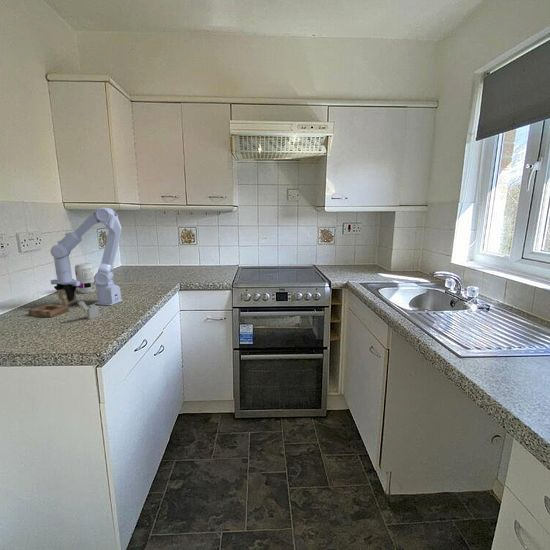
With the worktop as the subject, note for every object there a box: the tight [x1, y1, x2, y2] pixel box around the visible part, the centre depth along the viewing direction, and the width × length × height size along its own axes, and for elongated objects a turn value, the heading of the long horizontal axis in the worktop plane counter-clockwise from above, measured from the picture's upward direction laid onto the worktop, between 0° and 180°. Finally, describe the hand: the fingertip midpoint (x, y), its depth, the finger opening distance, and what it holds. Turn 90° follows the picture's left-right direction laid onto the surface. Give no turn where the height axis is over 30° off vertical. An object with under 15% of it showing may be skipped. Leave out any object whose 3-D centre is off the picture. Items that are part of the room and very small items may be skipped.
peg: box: [57, 288, 78, 307], centre depth 141 cm, size 3×6×8 cm, turn 165°
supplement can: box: [74, 262, 97, 294], centre depth 164 cm, size 8×8×15 cm
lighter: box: [77, 300, 100, 320], centre depth 124 cm, size 7×2×8 cm, turn 156°
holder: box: [28, 303, 70, 318], centre depth 131 cm, size 11×8×2 cm
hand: (67, 300), depth 141 cm, fingers closed on peg, 3 cm apart
